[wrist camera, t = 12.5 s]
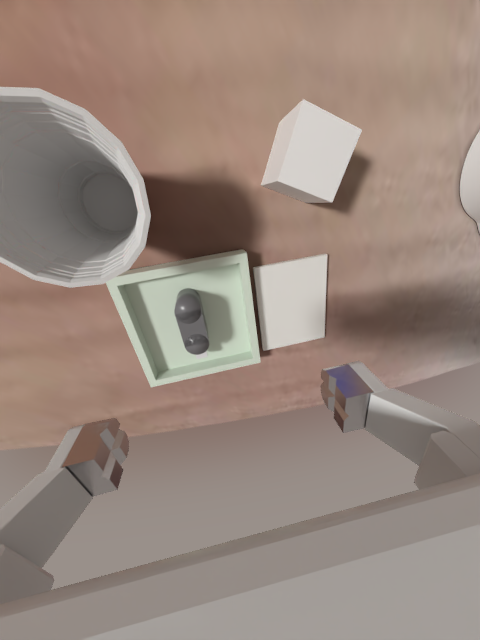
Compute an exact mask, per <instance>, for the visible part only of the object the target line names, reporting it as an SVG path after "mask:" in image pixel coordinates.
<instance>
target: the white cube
mask: <svg viewBox="0 0 480 640" xmlns="http://www.w3.org/2000/svg"><path fill="white" fill-rule="evenodd" d="M361 131H362V130H361V129H360V128H358V127H356V126H354V125H352V124H350V123H348V122H346V121H344V120H342V119H340V118H338V117H337V116H335V115H333V114H331V113H329V112H327V111H325V110H323V109H321V108H319V107H317V106H315V105H314V104H312V103H310V102H308V101H306V100H304V99H303V100H302V101H301V102H300V103H299V104H298V105H297V106H296V107H295V108H294V109H293V110H292V111H290V112H289V113H288V114H287V115H286V116H285V117H284V118H283V119H282V120H281V121H280V122H279V126H278V129H277V132H276V136H275V139H274V143H273V146H272V150H271V153H270V156H269V160H268V163H267V167H266V170H265V174H264V177H263V180H262V184H261V186H263V187H266V188H268V189H271V190H274V191H276V192H279V193H282V194H284V195H287V196H289V197H292V198H295V199H297V200H300V201H303V202H305V203H332V202H333V200H334V197H335V195H336V192H337V190H338V187H339V185H340V182H341V180H342V178H343V175H344V173H345V170H346V168H347V165H348V163H349V160H350V158H351V156H352V153H353V151H354V148H355V146H356V143H357V141H358V138H359V136H360V133H361Z"/></svg>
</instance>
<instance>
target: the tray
mask: <svg viewBox="0 0 480 640" xmlns="http://www.w3.org/2000/svg"><path fill="white" fill-rule="evenodd" d="M106 284H107V287H108V289H109V291H110V294H111V296H112V298H113V301H114V303H115V305H116V307H117V310H118V312H119V314H120V317H121V319H122V321H123V324H124V326H125V328H126V331H127V333H128V335H129V338H130V340H131V342H132V345H133V347H134V349H135V352H136V354H137V356H138V358H139V361H140V363H141V365H142V368H143V370H144V372H145V375H146V377H147V379H148V382H149V384H150V386H151V387H155V386H159V385H164V384H168V383H172V382H177V381H181V380H185V379H190V378H194V377H199V376H203V375H207V374H212V373H216V372H220V371H225V370H229V369H234V368H238V367H242V366H247V365H251V364H255V363H260V354H259V346H258V338H257V330H256V322H255V314H254V306H253V298H252V290H251V282H250V274H249V266H248V258H247V253H246V252H245V251H244V250H243V249H241V250H235V251H230V252H224V253H219V254H213V255H208V256H202V257H197V258H191V259H186V260H180V261H175V262H169V263H164V264H158V265H153V266H147V267H141V268H136V269H130V270H127V271H125V272H124V273H122V274H120V275H118V276H116V277H115V278H113V279H111V280H109V281H107V282H106ZM186 288H191V289H194V290H196V291H197V292H198V293H199V295H200V298H201V302H202V307H203V311H204V315H205V319H206V323H207V328H208V337H209V348H208V349H207V354H208V357H205V358H200V359H197V358H196V355H194V354H191V353H189V352H188V351H187V350H186V349H185V346H184V343H183V340H182V336H181V333H180V330H179V327H178V323H177V320H176V317H175V313H174V310H175V305H176V299H177V295H178V293H179V292H180V291H181V290H183V289H186Z"/></svg>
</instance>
